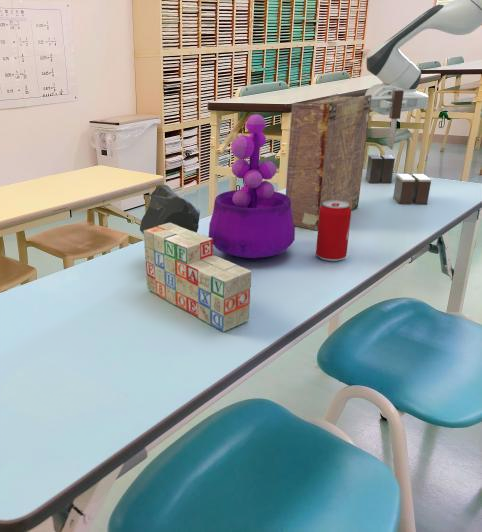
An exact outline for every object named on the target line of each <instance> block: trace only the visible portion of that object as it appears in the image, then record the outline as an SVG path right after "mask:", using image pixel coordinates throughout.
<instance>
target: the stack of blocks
mask: <svg viewBox="0 0 482 532" xmlns="http://www.w3.org/2000/svg"><path fill="white" fill-rule="evenodd" d="M143 242H144V245H143V246H144V247H143V248H144V259H145V271H146V275H145V276H146V287H147V290H149V291H151V292H152V293H154V294H155V295H157V296H159V297H160V298H162V299H164V300H166V301H167V302H169V303H170V304H173V305H174V306H177V307H179V308H181V309H182V310H184V311H186V312H188V313H190V314H191V315H193V316H195V317H197V318H198V319H200V320H202V321H203V322H205V323H206V324H208V325H210V326H212V327H214V328H215V329H217V330H219V331H221V332H222V333H224V332H226V331H228V330H230V329H232V328H235V327H237V326H239V325H241V324H244V323H246V322H248V321H249V320H250V303H251V287H252V270H250V269H248V268H245V267H243V266H240V265H238V264H236V263H234V262H231V261H229V260H226V259H225V258H222V257H220V256H217V255H214V245H213V239H212V238H209V236H208V235H203V234H201V233H198V232H197V233H196V232H193V231H190V230H188V229H185V228H182V227H179V226H178V225H175V224H172V223H166V224H163V225H159V226H157V227H153V228H150V229H147V230H144V235H143Z"/></svg>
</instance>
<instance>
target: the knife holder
mask: <svg viewBox="0 0 482 532" xmlns="http://www.w3.org/2000/svg"><path fill="white" fill-rule="evenodd" d="M367 156H368V157H367V163H366V164H367V165H366V171H365V180H366V181H367V182H368V183H369V184H380V183H381V184H392V181H393V176H394V175H393V174H394V169H395V160H396V158H395V157H394V156H392V155H391V154H380V155H379V154H368V155H367Z"/></svg>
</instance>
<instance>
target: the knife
mask: <svg viewBox="0 0 482 532" xmlns="http://www.w3.org/2000/svg"><path fill="white" fill-rule="evenodd" d="M403 93H404V91H402V90H393V92H392V99H391V101H392V102H393V107H392V108H390V114H389V115H388V118H389V119H391V120H390V128H389V134H388V141H387V148H389V149H390V150H394V144H395V137H396V131H397V130H396V129H397V125H398V123H397V122H398V120H400V119H401V114H402V112H401V107H402V100H403Z"/></svg>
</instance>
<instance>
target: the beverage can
mask: <svg viewBox="0 0 482 532" xmlns="http://www.w3.org/2000/svg"><path fill="white" fill-rule="evenodd" d="M351 219H352V211H351V209H350V206H349V203H348V202H345V201H339V200H329V201H325V202H323V205H322V207H321V208H320V212H319V223H318V230H317V234H316V235H317V236H316V245H315V246H316V247H315V255H316V256H317V257H319V258H320V259H321V260H323V261H327V262H339V261H341V260H343V259H345V258H346V257H347V256H348V255H347V254H348V244H349V236H350V227H351Z"/></svg>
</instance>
